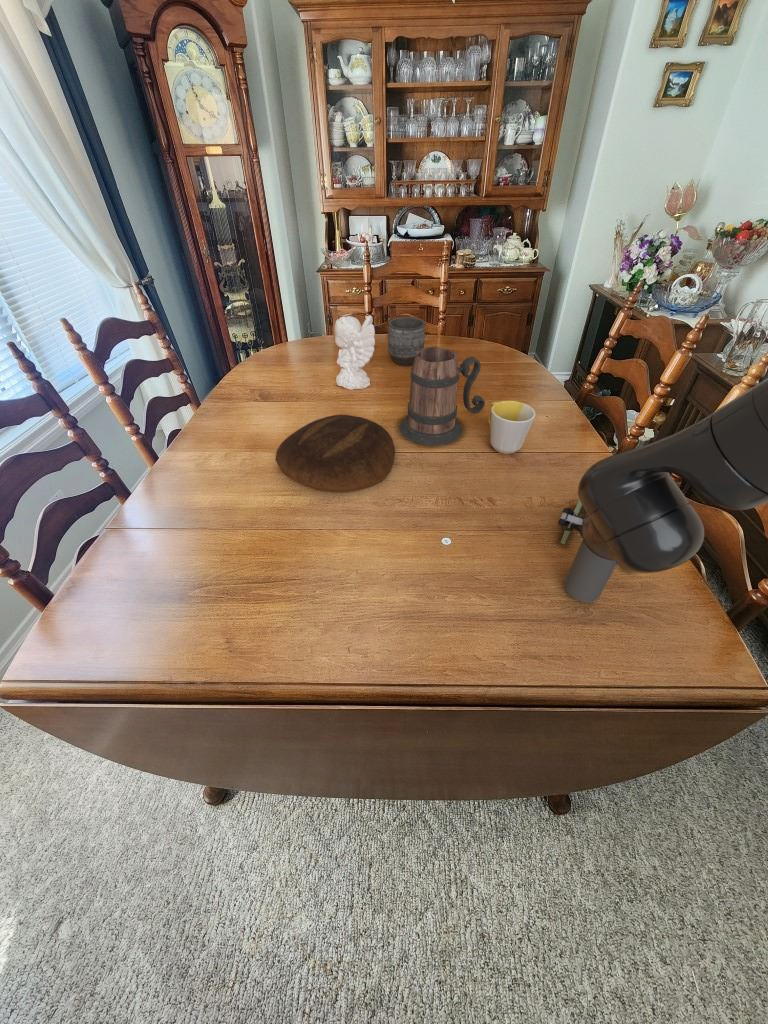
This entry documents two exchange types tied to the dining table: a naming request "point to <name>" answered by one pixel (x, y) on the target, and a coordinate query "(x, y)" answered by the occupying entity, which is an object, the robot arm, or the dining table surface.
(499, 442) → the mug
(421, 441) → the tankard
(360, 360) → the cherub figurine
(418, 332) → the planter
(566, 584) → the bottle
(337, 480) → the bread
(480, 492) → the dining table surface
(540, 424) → the dining table surface
